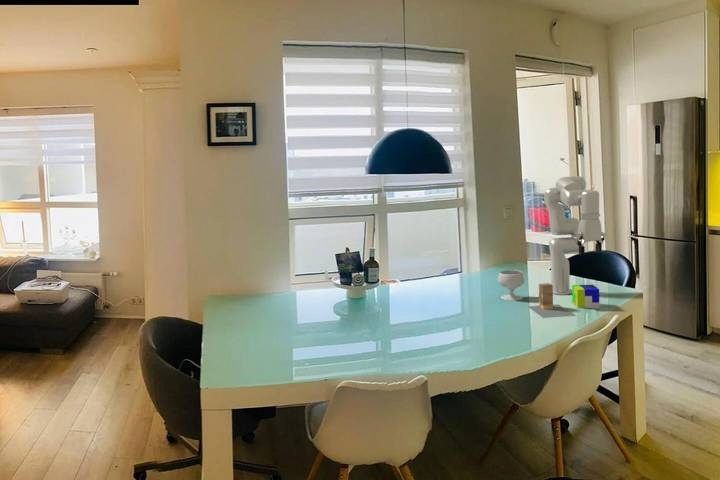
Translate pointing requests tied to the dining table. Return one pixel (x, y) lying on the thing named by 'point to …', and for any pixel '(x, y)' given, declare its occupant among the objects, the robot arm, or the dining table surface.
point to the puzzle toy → (585, 296)
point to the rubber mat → (552, 311)
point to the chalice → (511, 283)
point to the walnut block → (546, 296)
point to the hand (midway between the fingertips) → (590, 252)
